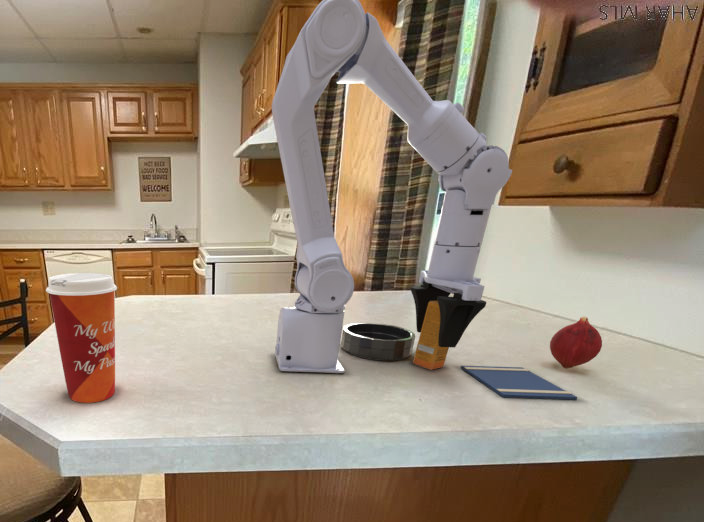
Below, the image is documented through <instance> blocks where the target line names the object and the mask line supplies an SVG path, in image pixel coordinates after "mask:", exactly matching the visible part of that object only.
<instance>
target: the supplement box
mask: <svg viewBox="0 0 704 522" xmlns="http://www.w3.org/2000/svg"><path fill="white" fill-rule="evenodd" d="M439 329H440V309H439V304H438V301H430V302H429V303H428V307H427V310H426V314H425V318H424V322H423V326H422V329H421V333H420V334H419V338H418V341H417V344H416V345H417V346H416V349H415V353H414V356H413V361H412V363H413V365H415V366H417V367H418V366H419V367H421V368H424V369H427V370H431V371H432V370H437V369H439V368H443V367H444V366H445V362H446V359H447V357H448V356H447V355H448V352H449V348H450V347H440V346H439V343H438V337H439Z"/></svg>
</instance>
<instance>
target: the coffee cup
mask: <svg viewBox="0 0 704 522" xmlns="http://www.w3.org/2000/svg"><path fill="white" fill-rule="evenodd" d="M117 289H118V286H117V285H116V284H115V282H114V278H113V277H112V275H110V274H106V273H101V272H100V273H99V272H74V273H73V272H72V273H63V274H56V275H52V276H49V278H48V286H47V287H46V289H45V292H46V293H48V294H49V300H50V305H51V311H52V317H53V322H54V326H55V332H56V338H57V342H58V343H57V344H58V350H59V355H60V360H61V365H62V370H63V371H62V372H63V375H64V376H63V377H64V380H65V385H66V386H65V387H66V391H67V395H68V397H69V399H70V400H72V401H73V402H77V403H83V404H89V403H90V404H91V403H98V402H103V401H105V400H109V399H111V398H112V397H113V396H114V395H115V391H116V317H115V316H116V315H115V314H116V310H115V309H116V307H115V306H116V305H115V302H116V301H115V300H116V299H115V292H116V291H117Z"/></svg>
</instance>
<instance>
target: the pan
mask: <svg viewBox="0 0 704 522" xmlns="http://www.w3.org/2000/svg"><path fill="white" fill-rule="evenodd" d="M415 339H416V333H414V332H413V331H412V330H410V329H407V328H404V327H401V326H397V325H392V324H387V323H386V324H385V323H378V322H377V323H376V322H355V323H350V324H349V323H348V324H346V325H344V326H343V327H342V333H341V340H340V347H341V348H342V349H343V350H344V351H345V352H346V353H348V354H350V355H353V356H355V357H358V358H363V359H367V360H373V361H384V362H387V361H400V360H403V359H406V358H407V357H409V356H411V355H412V354H413V350H414V346H415V345H414V344H415Z"/></svg>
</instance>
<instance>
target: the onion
mask: <svg viewBox="0 0 704 522" xmlns="http://www.w3.org/2000/svg"><path fill="white" fill-rule="evenodd" d="M602 347H603V340H602V336H601V334H600V331H598V329H596V328H595V326H593V325H592V324H591V322H590V321H589V318H588V317H587V316H581V317H580V318H579V320H578V321H576V322H574V323H571V324H569V325H566V326H564V327H562V328H560V329H559V330H558V331H556V332H555V333H554V335H553V336H552V337H551V339H550V341H549V350H550V354H551V356H552V357H553V359H555V361H557V362H558V363H559V364H560V365H561V367H563V368H564V369H571V368H574V367H579V366H582V365H584V364H587V363H589V362H591V361H592V360H593V359H595V358H596V357H598V355H599V354H600V352H601V350H602Z"/></svg>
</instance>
